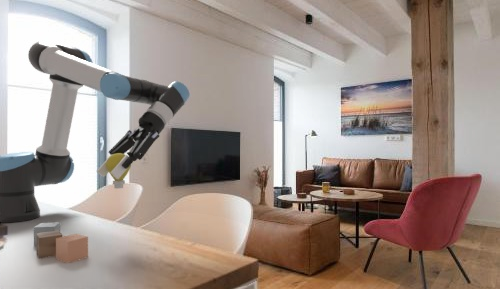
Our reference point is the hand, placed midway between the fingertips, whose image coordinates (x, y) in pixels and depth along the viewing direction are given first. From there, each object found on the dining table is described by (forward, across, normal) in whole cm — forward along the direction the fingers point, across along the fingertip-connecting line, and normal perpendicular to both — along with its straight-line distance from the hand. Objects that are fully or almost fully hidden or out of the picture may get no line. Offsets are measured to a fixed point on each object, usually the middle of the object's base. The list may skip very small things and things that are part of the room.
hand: (107, 175), depth 98 cm
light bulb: (0, 0, -6) cm, 6 cm away
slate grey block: (+21, +11, -5) cm, 24 cm away
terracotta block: (+22, -7, -4) cm, 24 cm away
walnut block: (+24, +1, -2) cm, 24 cm away
